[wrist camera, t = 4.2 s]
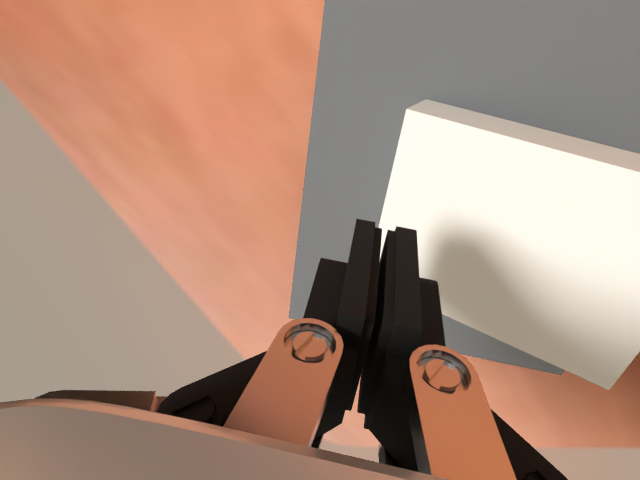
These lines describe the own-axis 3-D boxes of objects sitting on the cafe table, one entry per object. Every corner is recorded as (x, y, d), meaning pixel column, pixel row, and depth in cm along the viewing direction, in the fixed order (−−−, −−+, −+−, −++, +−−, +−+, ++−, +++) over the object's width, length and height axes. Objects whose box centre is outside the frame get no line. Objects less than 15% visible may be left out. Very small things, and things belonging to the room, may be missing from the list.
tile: (429, 97, 15) (732, 175, 12) (387, 254, 19) (608, 347, 15) (406, 108, 13) (755, 203, 10) (366, 279, 17) (609, 390, 14)
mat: (804, -25, 12) (827, -25, 12) (556, 362, 21) (561, 375, 21) (338, -89, 13) (335, -93, 13) (292, 307, 22) (288, 317, 22)
